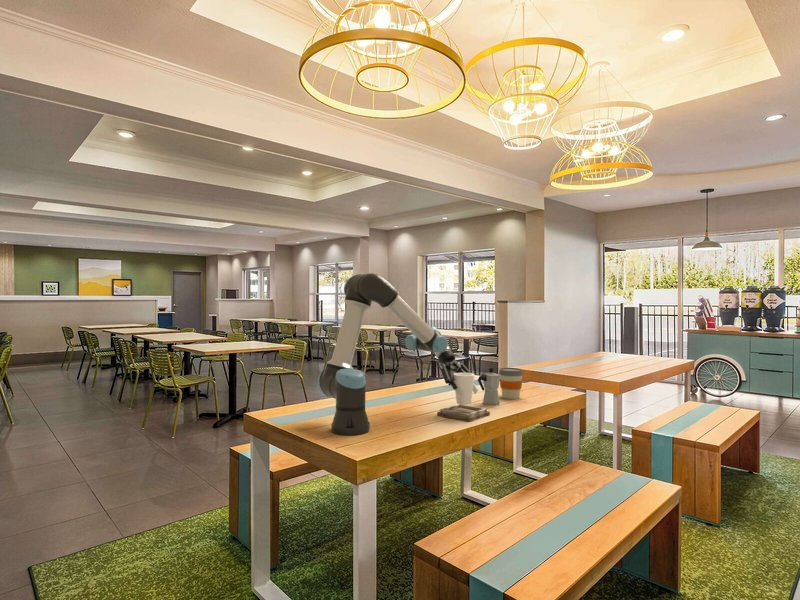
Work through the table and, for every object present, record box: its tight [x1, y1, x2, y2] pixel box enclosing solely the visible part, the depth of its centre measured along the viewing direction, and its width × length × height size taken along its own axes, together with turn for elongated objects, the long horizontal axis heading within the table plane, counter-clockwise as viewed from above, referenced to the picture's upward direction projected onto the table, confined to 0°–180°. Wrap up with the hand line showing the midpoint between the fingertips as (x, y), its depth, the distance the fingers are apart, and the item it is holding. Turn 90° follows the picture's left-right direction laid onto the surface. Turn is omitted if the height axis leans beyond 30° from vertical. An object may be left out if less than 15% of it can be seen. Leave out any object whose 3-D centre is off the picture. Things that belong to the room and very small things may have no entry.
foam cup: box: [453, 372, 475, 405], centre depth 206 cm, size 10×9×13 cm
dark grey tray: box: [436, 403, 491, 423], centre depth 206 cm, size 17×17×3 cm
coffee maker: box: [477, 367, 501, 406], centre depth 230 cm, size 15×9×18 cm, turn 121°
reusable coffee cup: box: [498, 367, 524, 400], centre depth 246 cm, size 13×12×15 cm
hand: (469, 393), depth 203 cm, fingers closed on foam cup, 9 cm apart
